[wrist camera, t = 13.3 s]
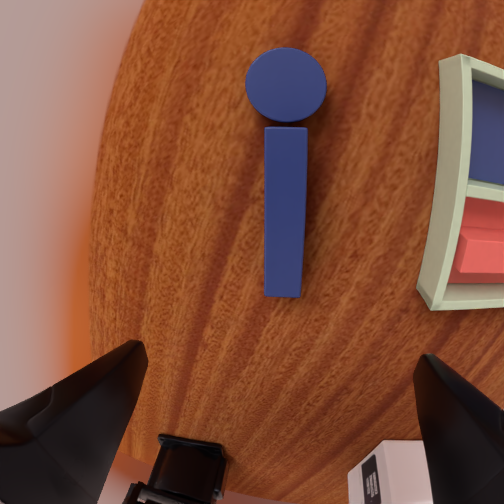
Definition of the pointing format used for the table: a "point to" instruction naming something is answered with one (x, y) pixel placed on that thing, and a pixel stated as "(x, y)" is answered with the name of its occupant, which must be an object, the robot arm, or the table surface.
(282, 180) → the spoon navy
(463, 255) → the spoon coral
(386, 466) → the container
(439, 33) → the table surface
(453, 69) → the cutlery tray
